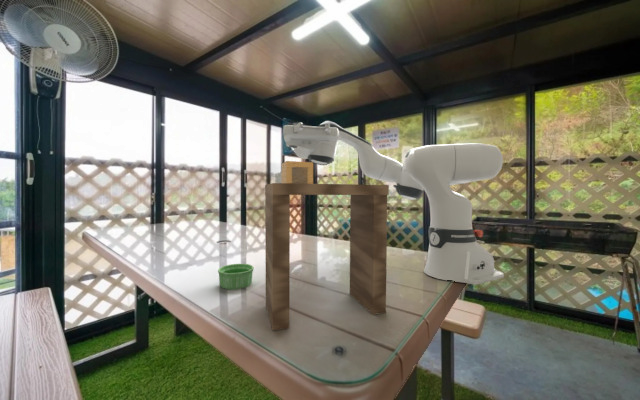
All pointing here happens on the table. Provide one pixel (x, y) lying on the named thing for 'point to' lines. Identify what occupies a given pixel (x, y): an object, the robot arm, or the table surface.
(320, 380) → the table surface
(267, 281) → the shelf
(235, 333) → the table surface
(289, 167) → the recessed wooden block
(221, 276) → the ramekin
